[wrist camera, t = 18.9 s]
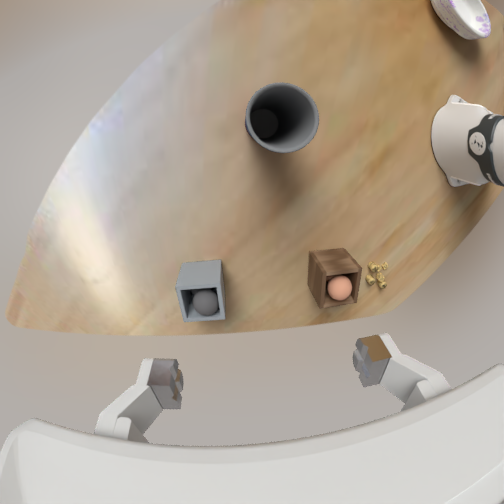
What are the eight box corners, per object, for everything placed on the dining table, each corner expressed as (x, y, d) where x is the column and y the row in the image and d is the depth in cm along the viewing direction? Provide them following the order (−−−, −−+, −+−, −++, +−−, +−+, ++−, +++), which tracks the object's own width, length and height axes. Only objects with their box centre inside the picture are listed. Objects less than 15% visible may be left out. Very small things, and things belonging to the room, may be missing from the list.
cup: (281, 150, 38) (311, 159, 24) (235, 141, 37) (239, 145, 23) (289, 106, 35) (324, 93, 21) (243, 97, 34) (253, 75, 20)
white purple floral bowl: (473, 51, 29) (498, 49, 22) (426, 25, 28) (452, 17, 21) (461, 0, 23) (483, -5, 15) (413, -27, 21) (434, -39, 14)
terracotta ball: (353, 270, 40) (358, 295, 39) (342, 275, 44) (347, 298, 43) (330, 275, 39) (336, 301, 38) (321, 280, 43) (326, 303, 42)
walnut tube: (343, 248, 45) (362, 268, 39) (340, 280, 48) (356, 302, 41) (309, 251, 45) (322, 272, 38) (307, 284, 48) (319, 308, 41)
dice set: (381, 284, 50) (385, 289, 48) (360, 282, 49) (364, 288, 48) (389, 261, 48) (394, 266, 46) (368, 259, 47) (373, 264, 46)
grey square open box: (220, 259, 44) (220, 283, 37) (225, 292, 47) (225, 319, 40) (182, 262, 44) (175, 286, 37) (188, 295, 46) (183, 321, 40)
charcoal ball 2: (210, 279, 40) (224, 299, 38) (211, 294, 43) (224, 313, 41) (186, 290, 39) (199, 311, 37) (189, 304, 42) (201, 324, 39)
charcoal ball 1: (214, 268, 44) (210, 279, 40) (217, 289, 46) (213, 302, 42) (190, 269, 44) (184, 279, 41) (194, 290, 46) (188, 302, 42)
